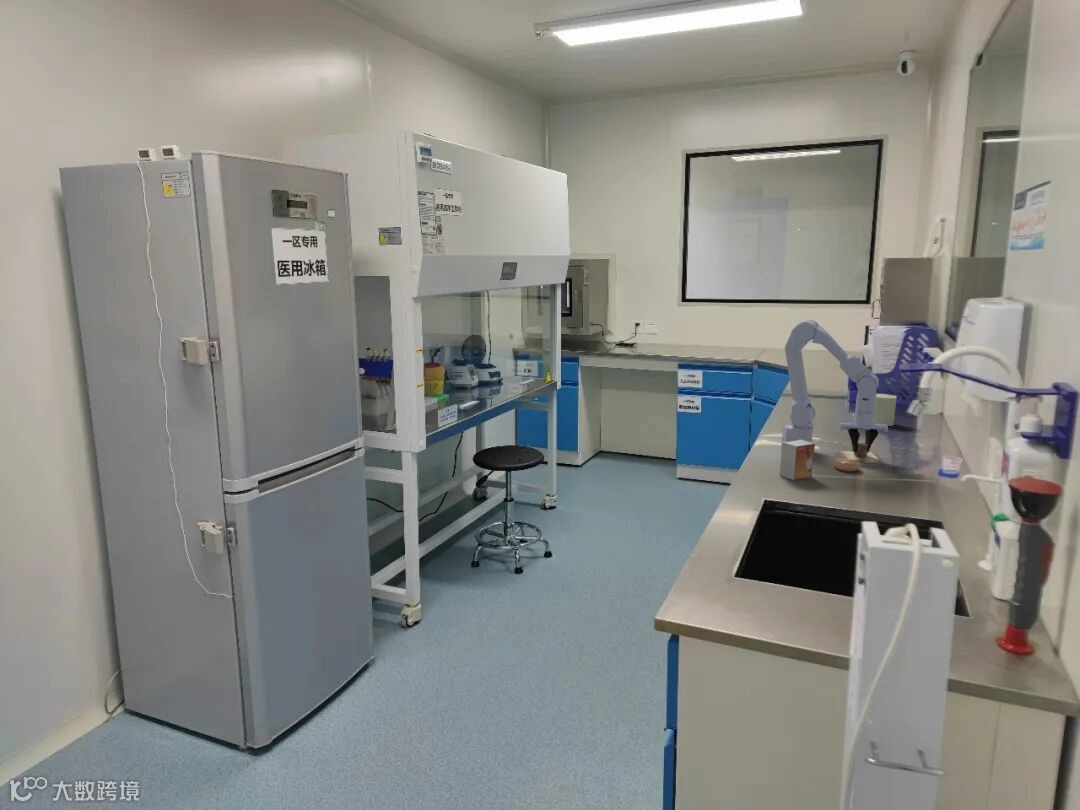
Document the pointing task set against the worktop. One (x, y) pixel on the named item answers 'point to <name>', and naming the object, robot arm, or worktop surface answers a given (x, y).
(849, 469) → the pink rounded disc
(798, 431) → the robot arm
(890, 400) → the can
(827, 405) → the worktop surface
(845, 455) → the lid
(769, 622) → the worktop surface
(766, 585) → the worktop surface
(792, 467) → the small box
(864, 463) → the mat
